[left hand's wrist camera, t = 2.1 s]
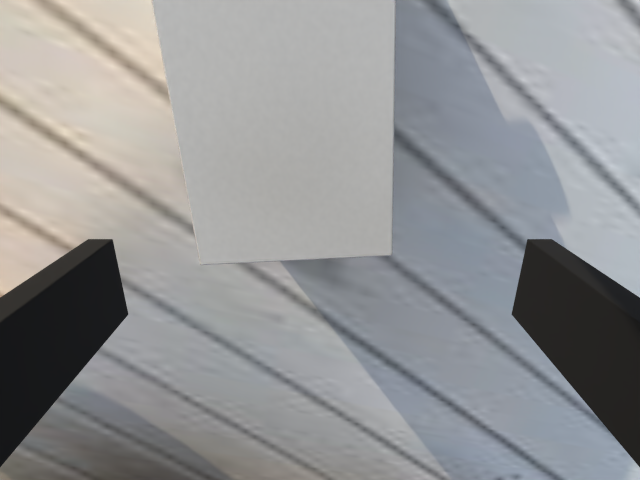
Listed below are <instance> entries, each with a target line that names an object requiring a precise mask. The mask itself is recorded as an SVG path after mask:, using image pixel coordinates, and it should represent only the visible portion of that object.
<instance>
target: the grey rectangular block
mask: <svg viewBox="0 0 640 480" xmlns="http://www.w3.org/2000/svg"><path fill="white" fill-rule="evenodd" d="M152 5H153V11H154V16H155V22H156V27H157V32H158V38H159V43H160V49H161V54H162V60H163V65H164V70H165V76H166V81H167V87H168V92H169V98H170V103H171V109H172V114H173V119H174V125H175V130H176V136H177V141H178V147H179V152H180V157H181V163H182V168H183V174H184V179H185V185H186V190H187V195H188V201H189V206H190V212H191V217H192V223H193V228H194V233H195V239H196V244H197V250H198V255H199V261H200V265H211V264H231V263H251V262H271V261H291V260H311V259H331V258H351V257H371V256H391V255H392V239H393V171H394V103H395V34H396V0H152Z"/></svg>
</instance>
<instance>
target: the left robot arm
mask: <svg viewBox="0 0 640 480" xmlns="http://www.w3.org/2000/svg"><path fill="white" fill-rule="evenodd" d="M127 315H128V311H127V306H126V301H125V297H124V292H123V287H122V282H121V278H120V273H119V268H118V263H117V259H116V254H115V249H114V244H113V240H112V239H88V240H87V241H85V242H83V243H82V244H80V245H79V246H77V247H76V248H74V249H73V250H71V251H70V252H68V253H67V254H65V255H64V256H62V257H61V258H59V259H58V260H56V261H55V262H53V263H52V264H50V265H49V266H47V267H46V268H44V269H43V270H41V271H40V272H38V273H37V274H35V275H34V276H32V277H31V278H29V279H28V280H26V281H25V282H23V283H22V284H20V285H19V286H17V287H16V288H14V289H13V290H11V291H10V292H8V293H7V294H5V295H4V296H2V297H1V298H0V467H1V466H2V464H3V463H4V462H5V461H6V460H7V458H8V457H9V456H10V455H11V454H12V452H13V451H14V450H15V449H16V448H17V446H18V445H19V444H20V443H21V442H22V440H23V439H24V438H25V437H26V436H27V435H28V433H29V432H30V431H31V430H32V429H33V427H34V426H35V425H36V424H37V423H38V421H39V420H40V419H41V418H42V417H43V415H44V414H45V413H46V412H47V411H48V409H49V408H50V407H51V406H52V405H53V403H54V402H55V401H56V400H57V399H58V398H59V396H60V395H61V394H62V393H63V392H64V390H65V389H66V388H67V387H68V386H69V384H70V383H71V382H72V381H73V380H74V378H75V377H76V376H77V375H78V374H79V372H80V371H81V370H82V369H83V368H84V367H85V365H86V364H87V363H88V362H89V361H90V359H91V358H92V357H93V356H94V355H95V353H96V352H97V351H98V350H99V349H100V347H101V346H102V345H103V344H104V343H105V341H106V340H107V339H108V338H109V337H110V335H111V334H112V333H113V332H114V331H115V330H116V328H117V327H118V326H119V325H120V324H121V322H122V321H123V320H124V319H125V318H126V316H127ZM512 315H513V316H514V318H515V319H516V320H517V321H518V322H519V324H520V325H521V326H522V327H523V328H524V330H525V331H526V332H527V333H528V334H529V335H530V337H531V338H532V339H533V340H534V341H535V343H536V344H537V345H538V346H539V347H540V349H541V350H542V351H543V352H544V353H545V355H546V356H547V357H548V358H549V359H550V361H551V362H552V363H553V364H554V365H555V367H556V368H557V369H558V370H559V371H560V372H561V374H562V375H563V376H564V377H565V378H566V380H567V381H568V382H569V383H570V384H571V386H572V387H573V388H574V389H575V390H576V392H577V393H578V394H579V395H580V396H581V398H582V399H583V400H584V401H585V402H586V403H587V405H588V406H589V407H590V408H591V409H592V411H593V412H594V413H595V414H596V415H597V417H598V418H599V419H600V420H601V421H602V423H603V424H604V425H605V426H606V427H607V429H608V430H609V431H610V432H611V433H612V435H613V436H614V437H615V438H616V439H617V440H618V442H619V443H620V444H621V445H622V446H623V448H624V449H625V450H626V451H627V452H628V454H629V455H630V456H631V457H632V458H633V460H634V461H635V462H636V463H637V464H638V466H639V467H640V298H639V297H638V296H636V295H635V294H633V293H632V292H630V291H629V290H627V289H626V288H624V287H623V286H621V285H620V284H618V283H617V282H615V281H614V280H612V279H611V278H609V277H608V276H606V275H605V274H603V273H602V272H600V271H599V270H597V269H596V268H594V267H593V266H591V265H590V264H588V263H587V262H585V261H584V260H582V259H581V258H579V257H578V256H576V255H575V254H573V253H572V252H570V251H569V250H567V249H566V248H564V247H563V246H561V245H560V244H558V243H557V242H555V241H553V240H552V239H528V240H527V244H526V249H525V254H524V259H523V263H522V268H521V273H520V278H519V282H518V287H517V292H516V297H515V301H514V306H513V311H512Z"/></svg>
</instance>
